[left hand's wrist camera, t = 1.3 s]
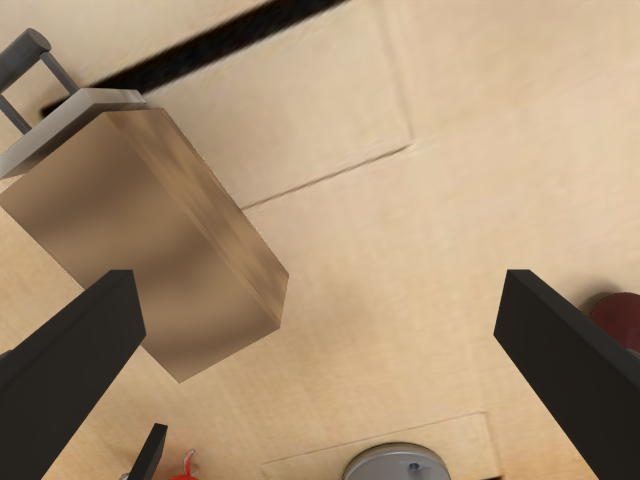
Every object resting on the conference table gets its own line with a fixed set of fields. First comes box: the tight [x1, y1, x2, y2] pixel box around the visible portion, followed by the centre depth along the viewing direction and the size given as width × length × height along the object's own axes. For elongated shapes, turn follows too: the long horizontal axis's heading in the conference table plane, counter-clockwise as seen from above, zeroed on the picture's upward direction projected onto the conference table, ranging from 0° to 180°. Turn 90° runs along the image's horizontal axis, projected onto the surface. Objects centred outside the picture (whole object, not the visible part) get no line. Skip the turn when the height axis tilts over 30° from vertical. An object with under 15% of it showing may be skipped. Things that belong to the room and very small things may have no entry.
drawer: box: [0, 28, 146, 180], centre depth 31 cm, size 25×10×8 cm, turn 33°
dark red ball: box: [589, 292, 640, 353], centre depth 38 cm, size 7×8×7 cm
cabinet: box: [0, 108, 289, 383], centre depth 33 cm, size 21×11×10 cm, turn 33°
